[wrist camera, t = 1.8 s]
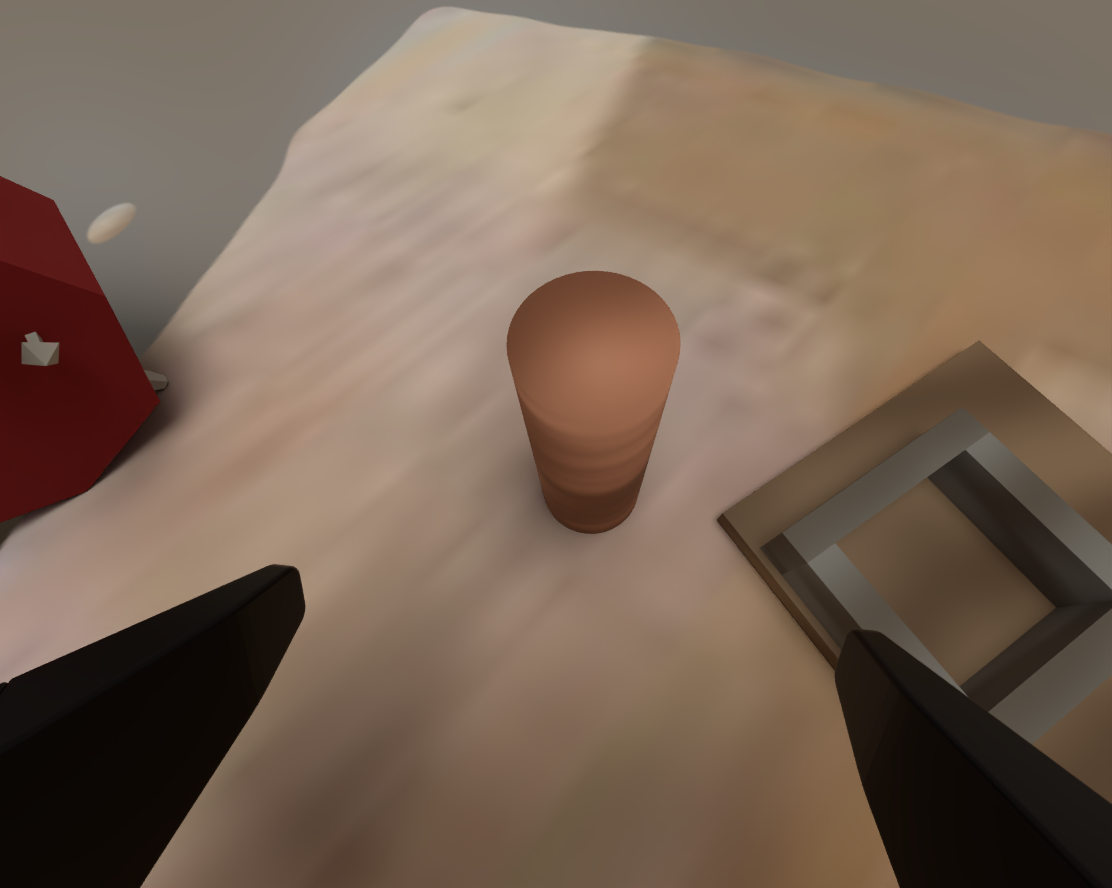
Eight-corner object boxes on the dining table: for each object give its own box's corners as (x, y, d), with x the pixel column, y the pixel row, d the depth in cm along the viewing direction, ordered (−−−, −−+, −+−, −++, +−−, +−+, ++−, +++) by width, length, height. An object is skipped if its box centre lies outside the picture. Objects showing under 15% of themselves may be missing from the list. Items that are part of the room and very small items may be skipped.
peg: (657, 500, 22) (717, 359, 12) (577, 552, 21) (566, 451, 11) (602, 427, 23) (614, 245, 13) (526, 474, 23) (475, 321, 13)
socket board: (1309, 656, 18) (1462, 654, 15) (1031, 919, 16) (1141, 983, 13) (963, 352, 24) (1022, 304, 21) (717, 519, 21) (739, 494, 18)
